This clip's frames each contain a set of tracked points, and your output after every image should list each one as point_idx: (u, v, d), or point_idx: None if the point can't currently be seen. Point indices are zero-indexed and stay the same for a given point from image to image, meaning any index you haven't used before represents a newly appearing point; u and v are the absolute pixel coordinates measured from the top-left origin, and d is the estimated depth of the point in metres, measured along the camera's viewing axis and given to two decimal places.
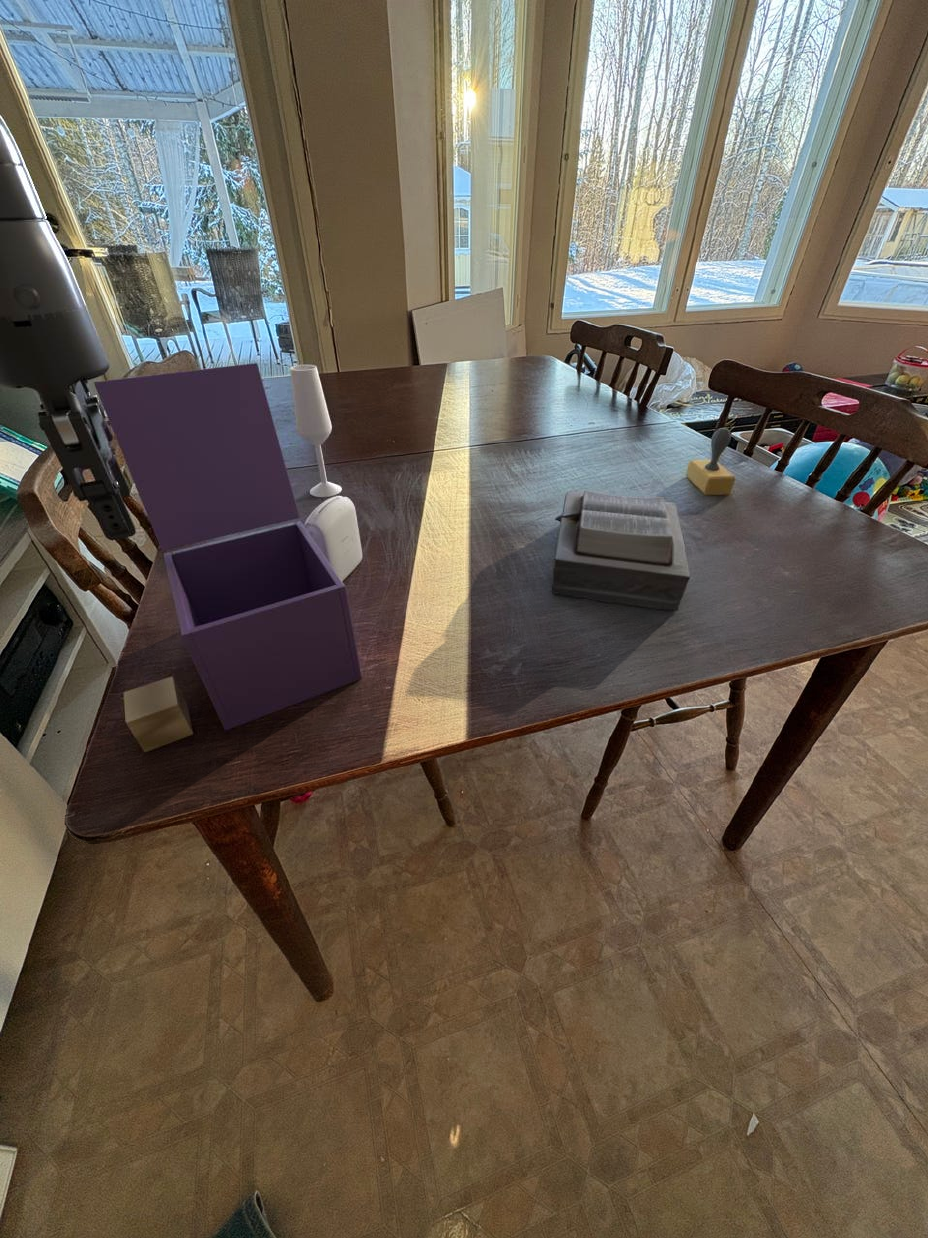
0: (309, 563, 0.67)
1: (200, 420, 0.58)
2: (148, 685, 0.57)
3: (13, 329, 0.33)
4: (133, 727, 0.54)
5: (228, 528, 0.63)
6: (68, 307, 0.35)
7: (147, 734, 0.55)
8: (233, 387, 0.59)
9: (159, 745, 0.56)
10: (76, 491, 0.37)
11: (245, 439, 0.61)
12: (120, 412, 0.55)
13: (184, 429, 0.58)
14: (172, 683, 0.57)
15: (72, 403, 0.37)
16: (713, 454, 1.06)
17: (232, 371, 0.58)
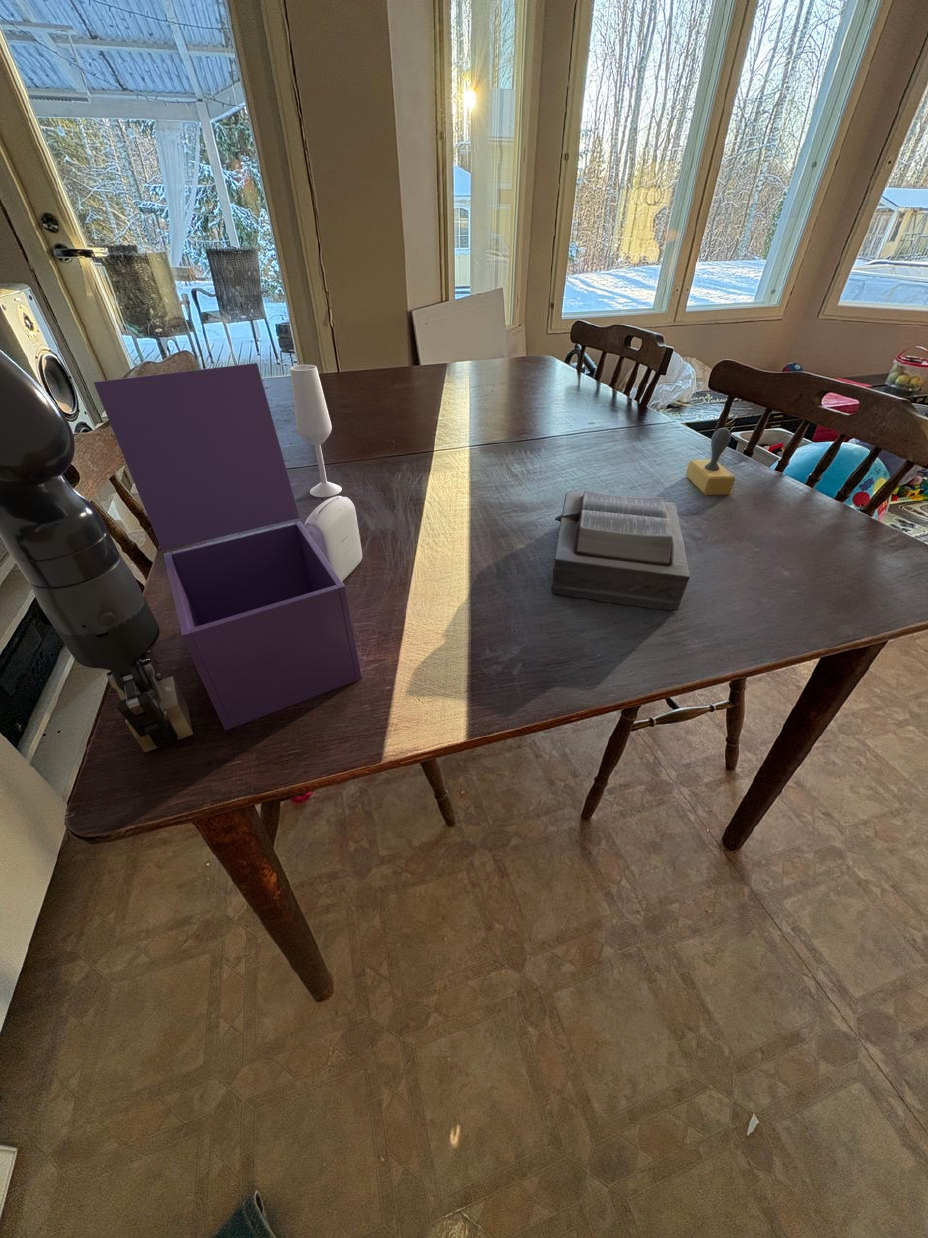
0: (309, 563, 0.67)
1: (200, 420, 0.58)
2: None
3: (96, 639, 0.46)
4: None
5: (228, 528, 0.63)
6: (134, 612, 0.47)
7: (147, 734, 0.55)
8: (233, 387, 0.59)
9: None
10: (140, 734, 0.51)
11: (245, 439, 0.61)
12: (120, 412, 0.55)
13: (184, 429, 0.58)
14: (172, 683, 0.57)
15: (134, 673, 0.49)
16: (713, 454, 1.06)
17: (232, 371, 0.58)
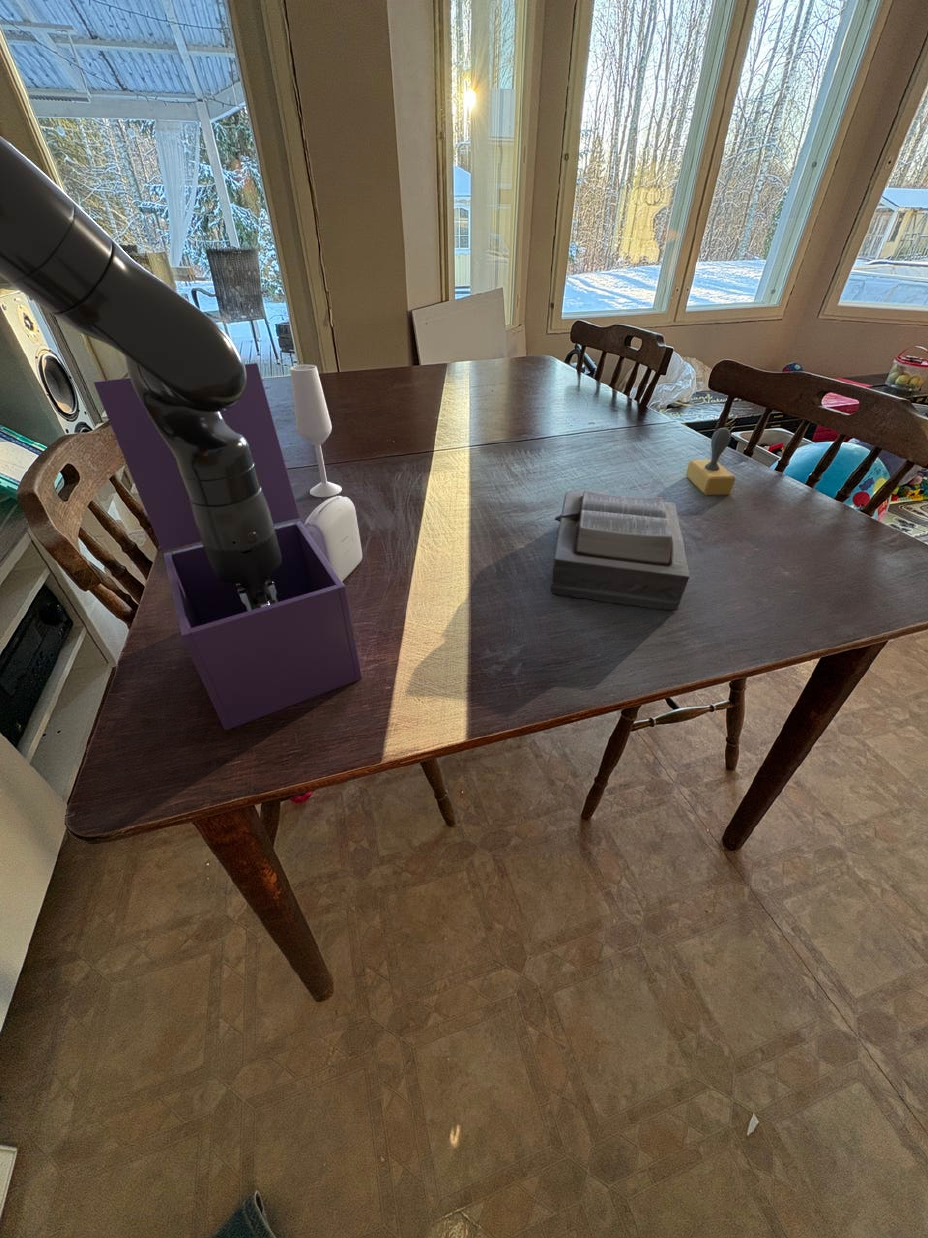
0: (309, 563, 0.67)
1: None
2: None
3: (241, 555, 0.53)
4: None
5: None
6: (269, 535, 0.55)
7: None
8: None
9: None
10: None
11: None
12: (120, 412, 0.55)
13: None
14: None
15: (265, 589, 0.57)
16: (713, 454, 1.06)
17: None
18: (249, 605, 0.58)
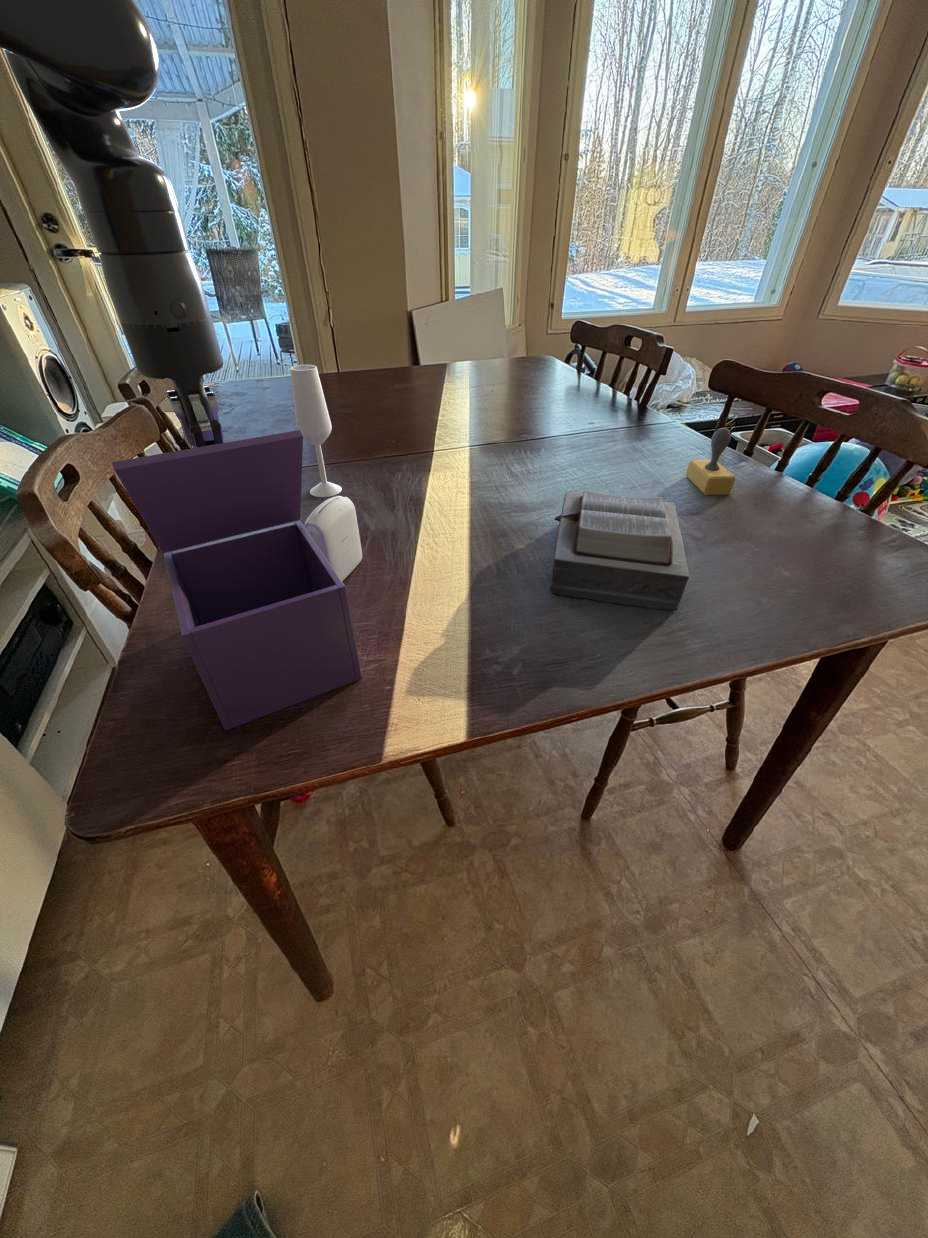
0: (309, 563, 0.67)
1: (226, 479, 0.52)
2: None
3: (166, 334, 0.44)
4: None
5: (230, 534, 0.63)
6: (203, 317, 0.45)
7: None
8: (270, 455, 0.51)
9: None
10: None
11: (268, 485, 0.56)
12: (141, 485, 0.48)
13: (207, 487, 0.52)
14: None
15: (201, 391, 0.47)
16: (713, 454, 1.06)
17: (273, 445, 0.50)
18: (184, 420, 0.50)
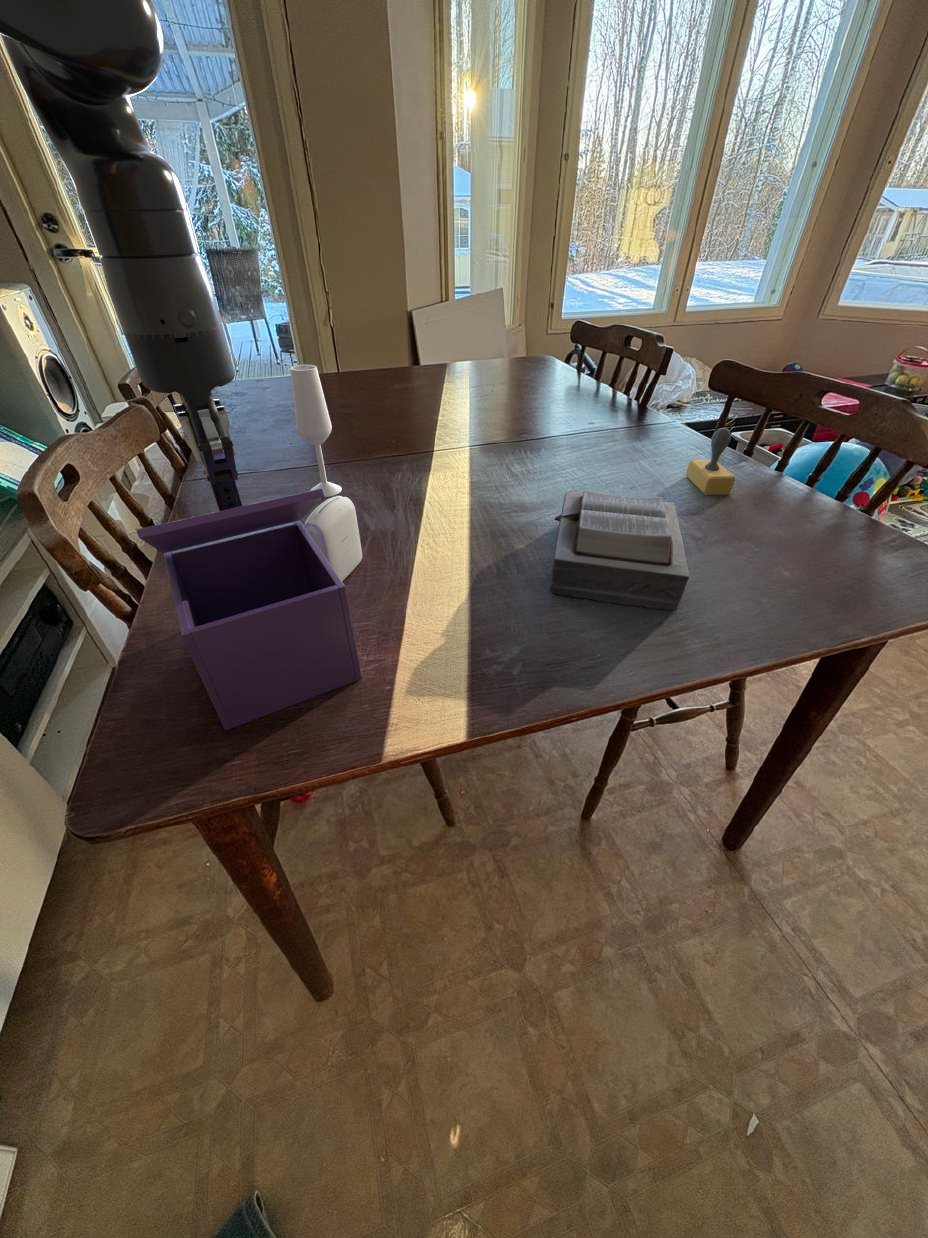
0: (309, 563, 0.67)
1: (241, 521, 0.52)
2: None
3: (174, 344, 0.40)
4: None
5: (231, 536, 0.63)
6: (213, 325, 0.42)
7: None
8: (288, 507, 0.52)
9: None
10: (212, 481, 0.47)
11: (279, 516, 0.57)
12: (160, 538, 0.48)
13: (221, 527, 0.52)
14: None
15: (211, 405, 0.43)
16: (713, 454, 1.06)
17: (294, 503, 0.50)
18: (193, 436, 0.46)
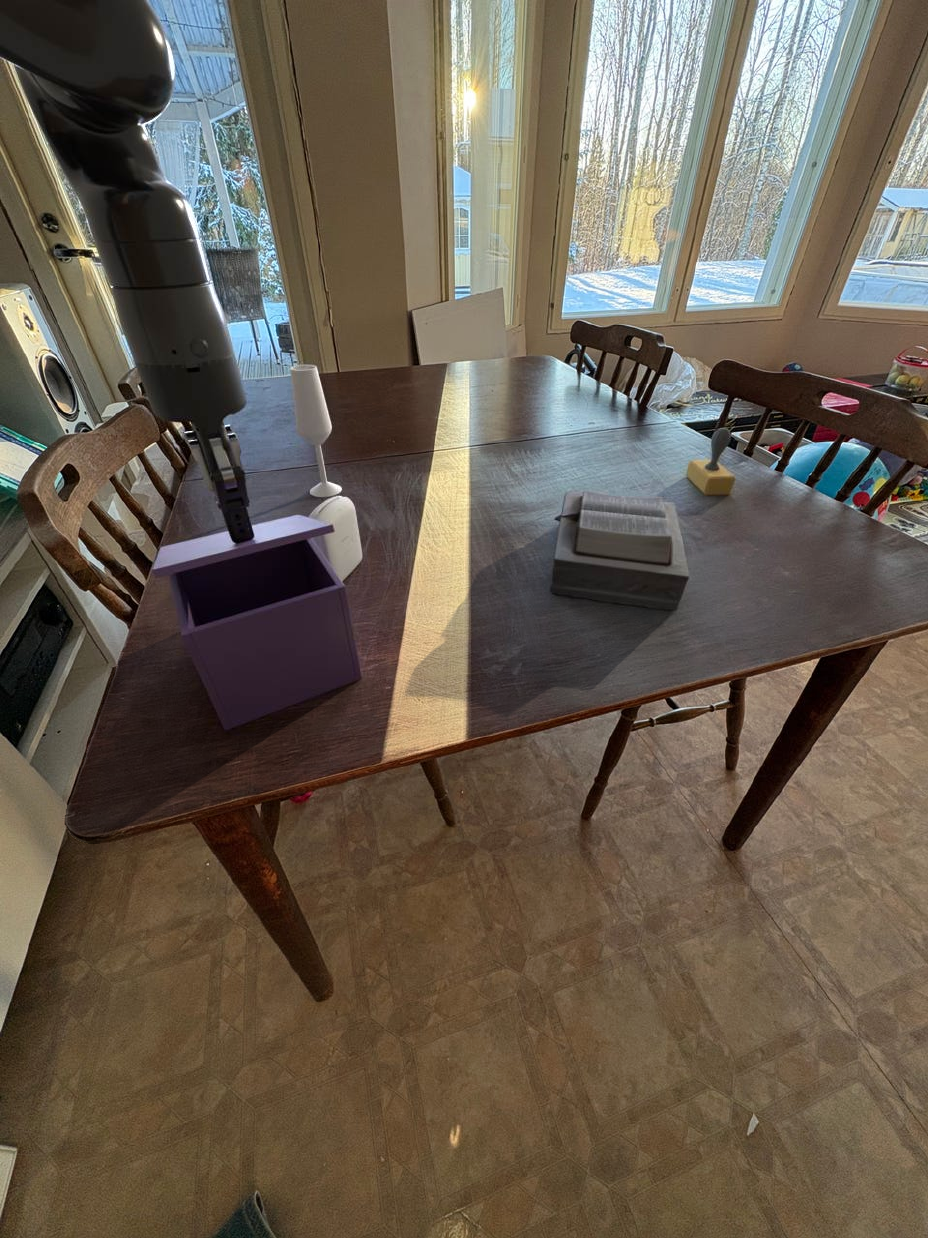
0: (309, 563, 0.67)
1: None
2: None
3: (185, 374, 0.39)
4: None
5: None
6: (226, 354, 0.41)
7: None
8: None
9: None
10: (223, 509, 0.46)
11: None
12: None
13: None
14: None
15: (223, 434, 0.43)
16: (713, 454, 1.06)
17: None
18: (204, 464, 0.45)
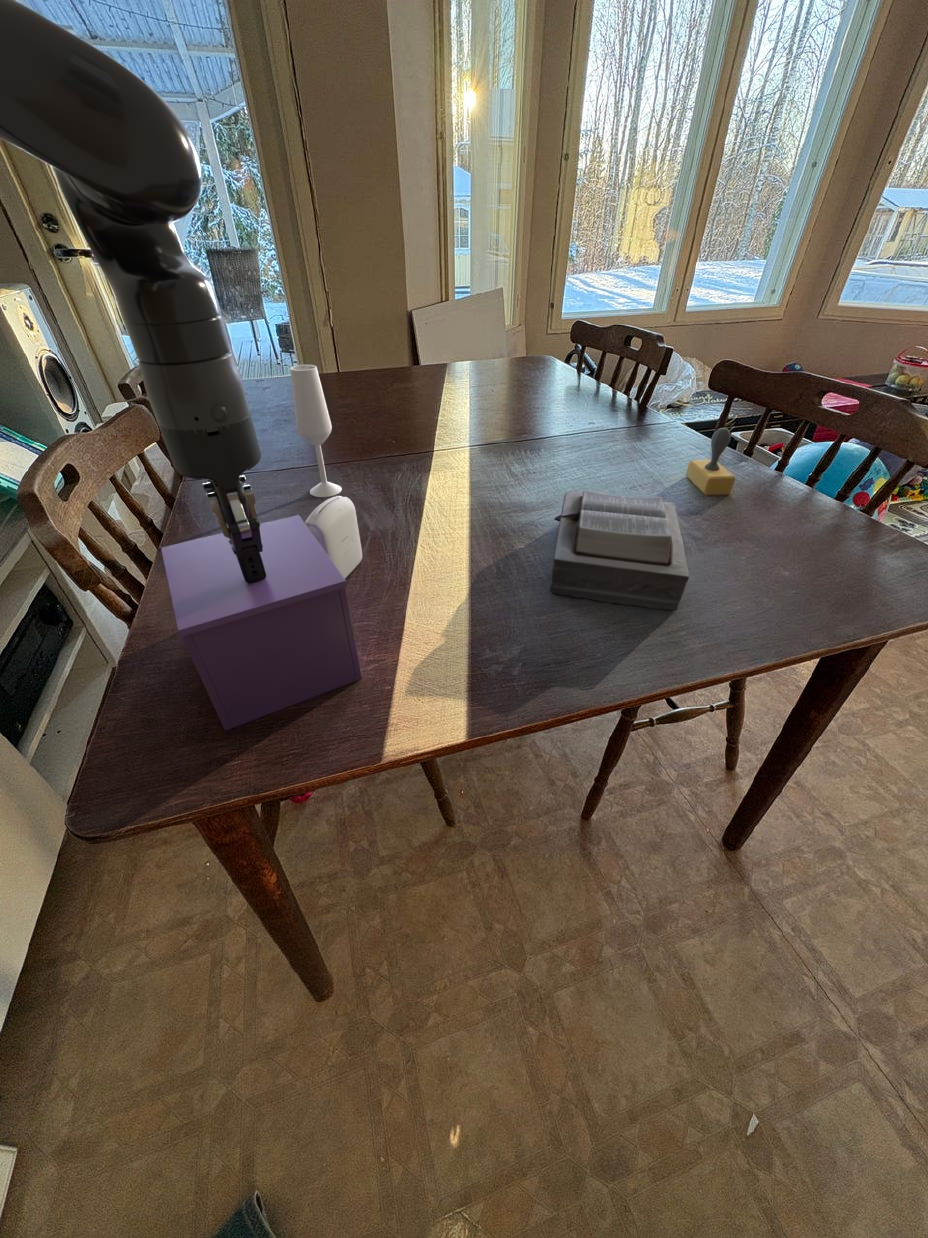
0: None
1: None
2: None
3: (206, 438, 0.42)
4: None
5: None
6: (243, 416, 0.44)
7: None
8: None
9: None
10: (238, 555, 0.49)
11: None
12: None
13: None
14: None
15: (239, 489, 0.46)
16: (713, 454, 1.06)
17: None
18: (221, 514, 0.48)
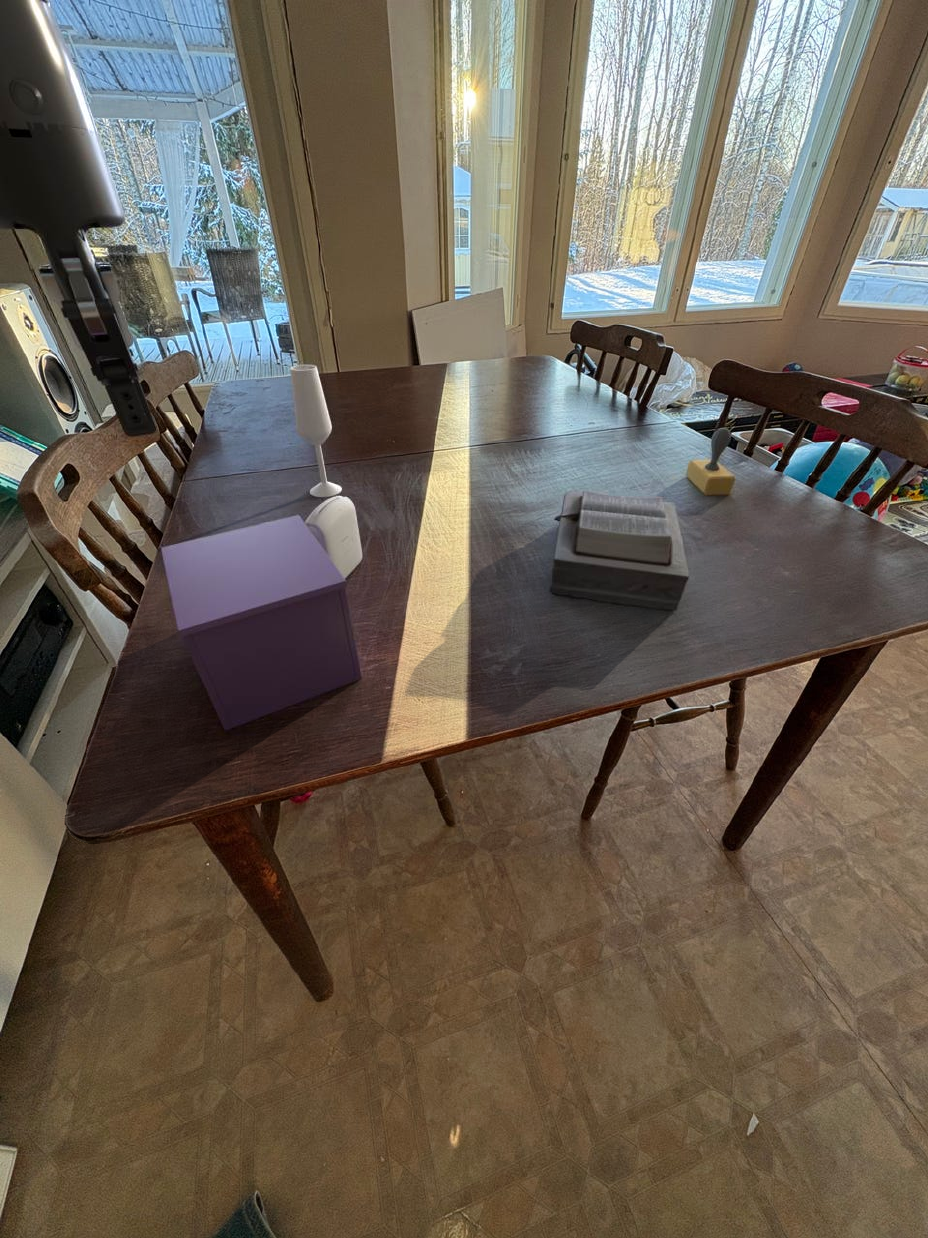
0: None
1: None
2: None
3: (9, 140, 0.27)
4: None
5: None
6: (77, 123, 0.28)
7: None
8: None
9: None
10: (98, 375, 0.34)
11: None
12: None
13: None
14: None
15: (81, 251, 0.30)
16: (713, 454, 1.06)
17: None
18: None
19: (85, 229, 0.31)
